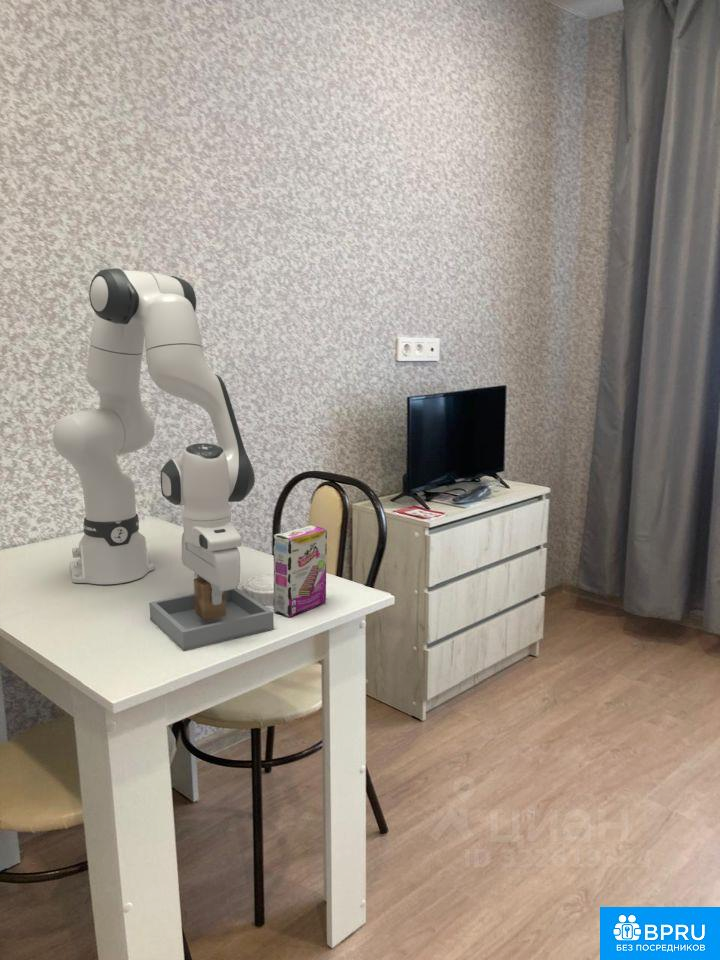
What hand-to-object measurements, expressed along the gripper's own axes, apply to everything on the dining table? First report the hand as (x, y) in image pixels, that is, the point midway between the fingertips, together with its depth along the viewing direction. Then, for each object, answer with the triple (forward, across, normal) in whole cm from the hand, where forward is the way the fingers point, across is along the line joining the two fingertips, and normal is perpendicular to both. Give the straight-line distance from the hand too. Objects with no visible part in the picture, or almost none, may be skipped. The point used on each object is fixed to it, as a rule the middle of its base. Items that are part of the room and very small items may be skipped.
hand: (209, 599), depth 144 cm
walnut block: (+3, 0, 0) cm, 3 cm away
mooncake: (+6, -8, +17) cm, 20 cm away
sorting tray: (+5, 0, 0) cm, 5 cm away
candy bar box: (+5, +2, +19) cm, 20 cm away
